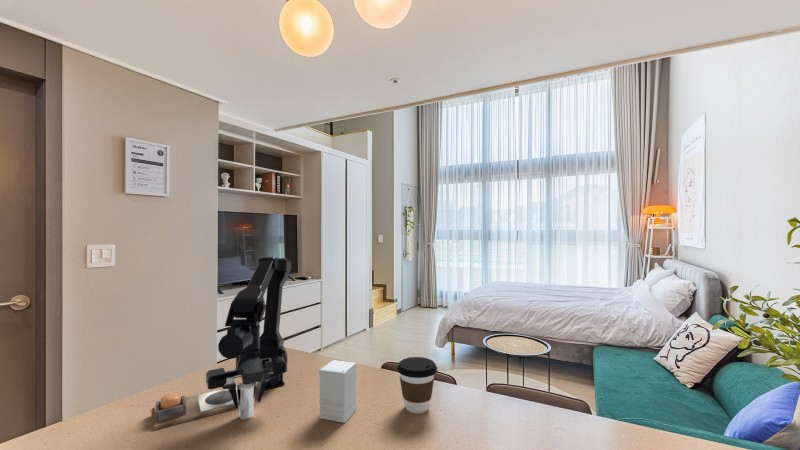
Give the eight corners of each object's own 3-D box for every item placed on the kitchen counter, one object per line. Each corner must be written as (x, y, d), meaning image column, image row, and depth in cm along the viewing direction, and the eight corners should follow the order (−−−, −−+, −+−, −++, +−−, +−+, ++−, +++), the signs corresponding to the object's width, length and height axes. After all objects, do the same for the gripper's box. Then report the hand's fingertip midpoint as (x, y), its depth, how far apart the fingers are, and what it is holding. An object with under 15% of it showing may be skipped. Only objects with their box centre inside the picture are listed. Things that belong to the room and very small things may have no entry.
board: (242, 386, 109) (242, 376, 109) (251, 404, 98) (251, 393, 98) (154, 407, 96) (154, 395, 96) (154, 430, 86) (154, 416, 86)
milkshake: (251, 422, 89) (251, 382, 89) (232, 419, 90) (232, 380, 90) (262, 413, 94) (262, 375, 94) (244, 410, 95) (244, 373, 95)
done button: (180, 402, 95) (180, 391, 95) (181, 409, 92) (181, 398, 92) (160, 407, 93) (160, 396, 93) (160, 415, 89) (160, 403, 89)
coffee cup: (445, 407, 97) (445, 363, 97) (419, 423, 89) (419, 375, 89) (414, 394, 104) (414, 353, 104) (388, 408, 96) (388, 363, 96)
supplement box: (357, 409, 95) (357, 362, 96) (344, 424, 88) (344, 373, 89) (333, 405, 98) (333, 359, 98) (318, 418, 91) (318, 369, 91)
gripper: (210, 361, 80) (210, 431, 80) (293, 346, 91) (293, 407, 90) (205, 347, 89) (205, 410, 89) (281, 335, 100) (281, 390, 100)
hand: (247, 404), depth 92 cm, fingers open, 5 cm apart
